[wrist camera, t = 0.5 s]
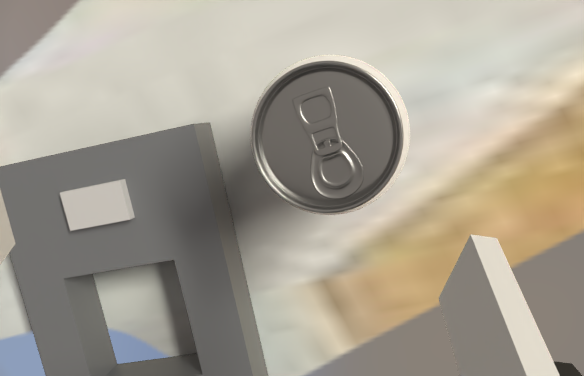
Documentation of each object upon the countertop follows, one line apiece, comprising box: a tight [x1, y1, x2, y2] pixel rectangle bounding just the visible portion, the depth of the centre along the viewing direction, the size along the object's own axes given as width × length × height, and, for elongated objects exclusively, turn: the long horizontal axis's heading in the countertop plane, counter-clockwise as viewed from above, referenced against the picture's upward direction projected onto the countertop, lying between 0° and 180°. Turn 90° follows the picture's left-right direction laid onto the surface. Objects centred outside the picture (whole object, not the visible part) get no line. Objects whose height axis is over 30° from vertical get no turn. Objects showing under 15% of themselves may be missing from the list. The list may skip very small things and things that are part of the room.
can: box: [251, 55, 410, 215], centre depth 23 cm, size 6×6×12 cm
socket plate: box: [0, 123, 268, 376], centre depth 31 cm, size 18×14×4 cm
